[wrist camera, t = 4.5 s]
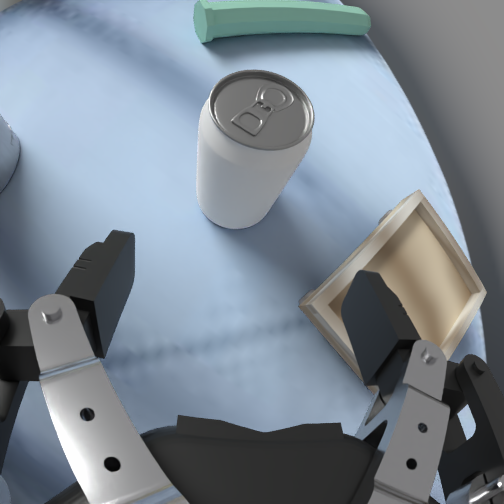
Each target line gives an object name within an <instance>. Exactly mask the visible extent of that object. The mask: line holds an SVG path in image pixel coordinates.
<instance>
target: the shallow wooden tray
mask: <svg viewBox="0 0 504 504" xmlns="http://www.w3.org/2000/svg"><path fill="white" fill-rule="evenodd" d="M359 270H366V271H373V272H378V273H379V274H380V275H381V277H382V278H383V280H384V282H385V283H386V285H387V287H389V288H390V289H391V290H392V291H393V292H394V293H395V294H396V295H397V296H398V298H399V300H400V301H401V303H402V305H403V307H404V308H405V310H406V312H407V315H409V317H410V319H411V321H412V323H413V324H414V326H415V328H416V330H417V332H418V333H419V335H420V337H421V339H422V340H427V341H430V342H432V343H434V344H436V345H437V346H438V347H439V348H440V349H441V350H442V351H443V353H444V354H445V356H446V359H447V361H448V360H449V358H450V357H451V355H452V354H453V352H454V350H455V349H456V347H457V346H458V344H459V342H460V341H461V339H462V337H463V336H464V334H465V332H466V331H467V329H468V327H469V325H470V324H471V322H472V320H473V318H474V316H475V315H476V313H477V311H478V309H479V307H480V305H481V303H482V301H483V299H484V297H485V295H486V293H487V292H486V290H485V288H484V286H483V285H482V283H481V281H480V279H479V278H478V276H477V274H476V272H475V271H474V269H473V267H472V266H471V264H470V262H469V261H468V259H467V257H466V256H465V254H464V253H463V251H462V250H461V248H460V246H459V245H458V243H457V242H456V240H455V239H454V237H453V236H452V234H451V233H450V231H449V230H448V228H447V227H446V225H445V224H444V223H443V221H442V220H441V218H440V217H439V215H438V214H437V213H436V211H435V210H434V209H433V207H432V206H431V204H430V203H429V202H428V200H427V199H426V198H425V196H424V195H423V194H422V193H421V191H420V190H419V189H418V190H417V191H415V192H414V193H412V194H411V195H409V196H408V197H406V198H405V199H403V200H402V201H401V202H400V203H399V204H398V205H397V206H396V207H395V208H394V209H393V210H389V211H388V212H387V213H386V214H385V215H384V216H383V217H382V218H381V219H380V220H379V226H378V227H377V228H376V229H375V230H374V231H373V232H372V233H371V234H370V235H369V236H368V237H367V238H366V240H365V241H364V242H363V243H362V244H361V245H360V246H359V247H358V248H357V249H356V250H355V251H354V252H353V253H352V254H351V255H350V256H349V257H348V258H347V259H346V260H345V261H344V262H343V263H342V264H341V265H340V266H339V267H338V268H337V269H336V270H335V271H334V272H333V273H332V274H331V275H330V276H329V277H328V278H327V279H326V280H325V281H324V282H323V283H322V284H321V285H320V286H319V287H318V288H317V289H316V290H313V289H312V290H310V291H309V292H308V293H307V294H305V295H304V296H303V297H302V298H301V299H300V300H299V306H298V307H299V308H300V309H301V310H302V311H303V313H304V314H305V315H306V316H307V317H308V318H309V320H310V321H311V322H312V323H313V324H314V325H315V327H316V328H317V329H318V330H319V331H320V332H321V334H322V335H323V336H324V337H325V338H326V339H327V341H328V342H329V343H330V344H331V345H332V346H333V348H334V349H335V350H336V351H337V352H338V353H339V355H340V356H341V357H342V358H343V359H344V360H345V362H346V363H347V364H348V365H349V366H350V367H351V369H352V370H353V371H354V372H355V373H356V374H357V376H358V377H359V378H360V379H361V380H362V381H363V378H362V375H361V372H360V369H359V366H358V363H357V360H356V357H355V354H354V351H353V348H352V346H351V343H350V340H349V337H348V334H347V331H346V328H345V326H344V323H343V320H342V317H341V306H342V303H343V300H344V298H345V296H346V294H347V292H348V290H349V288H350V285H351V283H352V281H353V279H354V277H355V275H356V273H357V272H358V271H359ZM363 383H364V381H363ZM367 387H368V388H369V389H370V391H371V392H372V393H373V394H374V395H375V393H376V392H377V391H378V390H379V387H378V386H367Z"/></svg>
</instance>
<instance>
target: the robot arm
mask: <svg viewBox="0 0 504 504" xmlns="http://www.w3.org/2000/svg"><path fill="white" fill-rule="evenodd" d="M19 152H20V144H19V140H18V138H17V136H16V134H15V133H14V132H13V130H12V129H11V127H10V126H9V124H8V123H7V122H6V121H5V120H4V119H3V117H2V116H1V114H0V192H1V191H2V190H3V189H4V187H5V186H6V185H7V183H8V181H9V180H10V178H11V177H12V174H13V172H14V170H15V168H16V165H17V162H18V158H19ZM134 276H135V235H134V233H130V232H124V231H118V230H112V231H111V233H110V234H109V236H108V237H107V238H106V240H105V241H104V243H101V242H96V243H94V244H92V245H91V246H89V247H88V248H86V249H85V250H84V252H83V253H82V254H81V256H80V257H79V260H77V261H76V263H75V264H74V267H72V269H71V270H70V271H69V273H68V274H67V276H66V277H65V279H64V280H63V282H62V283H61V285H60V286H59V288H58V289H57V291H56V292H55V294H49V295H45V296H43V297H40V298H39V299H37V300H36V301H35V302H34V303H33V304H32V305H31V307H30V308H29V309H28V310H6V309H5V306H4V303H3V301H2V299H1V298H0V504H11V499H10V491H9V488H8V485H7V483H6V481H5V480H4V479H3V477H2V476H1V472H2V467H3V463H4V459H5V455H6V451H7V447H8V443H9V440H10V436H11V433H12V429H13V426H14V423H15V419H16V416H17V413H18V410H19V407H20V404H21V401H22V398H23V395H24V393H25V390H26V387H27V384H28V382H29V381H40V384H41V388H42V391H43V394H44V397H45V401H46V404H47V407H48V410H49V413H50V416H51V418H52V421H53V424H54V427H55V429H56V432H57V434H58V437H59V440H60V442H61V444H62V447H63V449H64V452H65V454H66V456H67V458H68V461H69V463H70V465H71V467H72V469H73V472H74V474H75V476H76V478H77V481H76V482H75V483H73V484H72V485H70V486H69V487H68V488H66V489H65V490H63V491H62V492H60V493H59V494H58V495H56V496H55V497H53V498H52V499H50V500H49V501H47V502H46V503H44V504H440V503H438V502H437V501H436V500H435V499H433V498H432V497H431V496H430V492H431V489H432V486H433V483H434V479H435V476H436V472H437V469H438V472H439V476H440V480H441V484H442V488H443V492H444V497H445V501H446V504H504V397H503V395H502V393H501V391H500V389H499V387H498V385H497V383H496V381H495V379H494V377H493V375H492V373H491V371H490V369H489V367H488V366H487V364H486V363H485V362H484V361H483V360H482V359H481V358H479V357H478V356H476V355H473V354H468V355H466V356H465V357H464V359H463V360H462V361H461V362H460V363H459V364H458V363H454V362H451V361H447V359H446V356H445V354H444V353H443V351H442V350H441V349H440V348H439V347H438V346H437V345H436V344H434V343H432V342H430V341H427V340H422V339H421V337H420V335H419V333H418V332H417V330H416V328H415V326H414V324H413V323H412V321H411V319H410V317H409V315H407V312H406V310H405V308H404V307H403V305H402V303H401V301H400V300H399V298H398V296H397V295H396V294H395V293H394V292H393V291H392V290H391V289H390V288H389V287H387V285H386V283H385V282H384V280H383V278H382V277H381V275H380V274H379V273H378V272H373V271H366V270H359V271H358V272H357V273H356V275H355V277H354V279H353V281H352V283H351V285H350V288H349V290H348V292H347V294H346V296H345V298H344V300H343V303H342V306H341V317H342V320H343V323H344V326H345V328H346V331H347V334H348V337H349V340H350V343H351V346H352V348H353V351H354V354H355V357H356V360H357V363H358V366H359V369H360V372H361V375H362V378H363V381H364V385H365V386H378V387H379V390H378V391H377V392H376V393H375V395H374V397H373V399H372V401H371V404H370V406H369V408H368V410H367V412H366V415H365V417H364V419H363V421H362V423H361V425H360V427H359V429H358V431H357V433H356V434H355V436H350V435H347V434H343V431H342V427H341V423H320V424H302V425H298V426H294V427H290V428H285V429H281V430H276V431H272V432H259V431H256V430H252V429H248V428H245V427H241V426H238V425H235V424H231V423H228V422H225V421H222V420H214V419H205V418H196V417H189V416H182V415H178V419H177V426H167V427H161V428H157V429H153V430H150V431H147V432H145V433H143V434H140V435H139V434H138V432H137V430H136V428H135V427H134V425H133V423H132V422H131V420H130V418H129V416H128V415H127V413H126V411H125V409H124V407H123V405H122V404H121V402H120V400H119V398H118V396H117V394H116V392H115V390H114V388H113V386H112V384H111V382H110V380H109V378H108V376H107V374H106V372H105V370H104V368H103V366H102V364H101V362H100V360H99V358H98V357H100V358H104V359H105V356H106V353H107V351H108V348H109V345H110V342H111V340H112V337H113V334H114V332H115V329H116V326H117V324H118V321H119V319H120V316H121V314H122V311H123V309H124V306H125V304H126V301H127V299H128V296H129V294H130V291H131V289H132V286H133V282H134ZM95 356H96V357H95ZM467 404H468V405H469V408H470V410H471V413H472V415H473V418H474V420H475V423H476V430H475V433H474V435H473V436H472V437H471V438H470V439H468V440H466V437H465V434H464V431H463V428H462V426H461V423H460V420H459V418H458V415H457V413H459V412H460V411H461V410H462V409H463V408H464V407H465V406H466V405H467Z"/></svg>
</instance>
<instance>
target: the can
mask: <svg viewBox="0 0 504 504" xmlns="http://www.w3.org/2000/svg"><path fill="white" fill-rule="evenodd" d="M313 124H314V110H313V106H312V104H311V102H310V100H309V98H308V96H307V95H306V94H305V93H304V91H303V90H302V89H301V88H300V87H299V86H297V85H296V84H295V83H294V82H292V81H291V80H289V79H287V78H285V77H283V76H281V75H279V74H276V73H273V72H269V71H264V70H243V71H238V72H235V73H232V74H229V75H227V76H226V77H224V78H222V79H221V80H220V81H219V82H218V83H217V84H216V85H215V86H214V87H213V89H212V91H211V93H210V96H209V98H208V99H207V101H206V102H205V104H204V106H203V108H202V111H201V114H200V119H199V129H198V147H197V178H196V193H197V200H198V204H199V206H200V208H201V210H202V212H203V213H204V214H205V215H206V217H207V218H208V219H210V220H211V221H212V222H214V223H215V224H217V225H219V226H222V227H225V228H229V229H243V228H247V227H250V226H253V225H255V224H256V223H258V222H259V221H261V220H262V219H263V218H264V217H265V215H266V214H267V213H268V211H269V210H270V209H271V207H272V206H273V204H274V203H275V201H276V199H277V198H278V196H279V195H280V193H281V192H282V190H283V189H284V187H285V186H286V184H287V183H288V181H289V180H290V178H291V176H292V175H293V173H294V172H295V170H296V169H297V167H298V166H299V164H300V162H301V161H302V159H303V158H304V156H305V154H306V152H307V150H308V148H309V146H310V143H311V138H312V128H313Z"/></svg>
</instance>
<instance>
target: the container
mask: <svg viewBox="0 0 504 504" xmlns="http://www.w3.org/2000/svg"><path fill="white" fill-rule="evenodd" d="M193 19H194V26H195V32H196V34H197V36H198V38H199V40H200V42H201V43H206V42H210V41H212V40H213V38H221V37H230V36H240V35H253V34H272V33H325V34H343V35H364V34H366V33H367V32H368V30H369V29H370V27H371V23H370V17H369V16H368V15H367V14H366V13H365V12H364V11H363V10H362V9H360V8H358V7H352V6H345V5H338V4H329V3H320V2H308V1H291V0H239V1H222V2H210V3H208V1H207V0H199V1H198V2H197V3H196V4H195V6H194V17H193Z"/></svg>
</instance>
